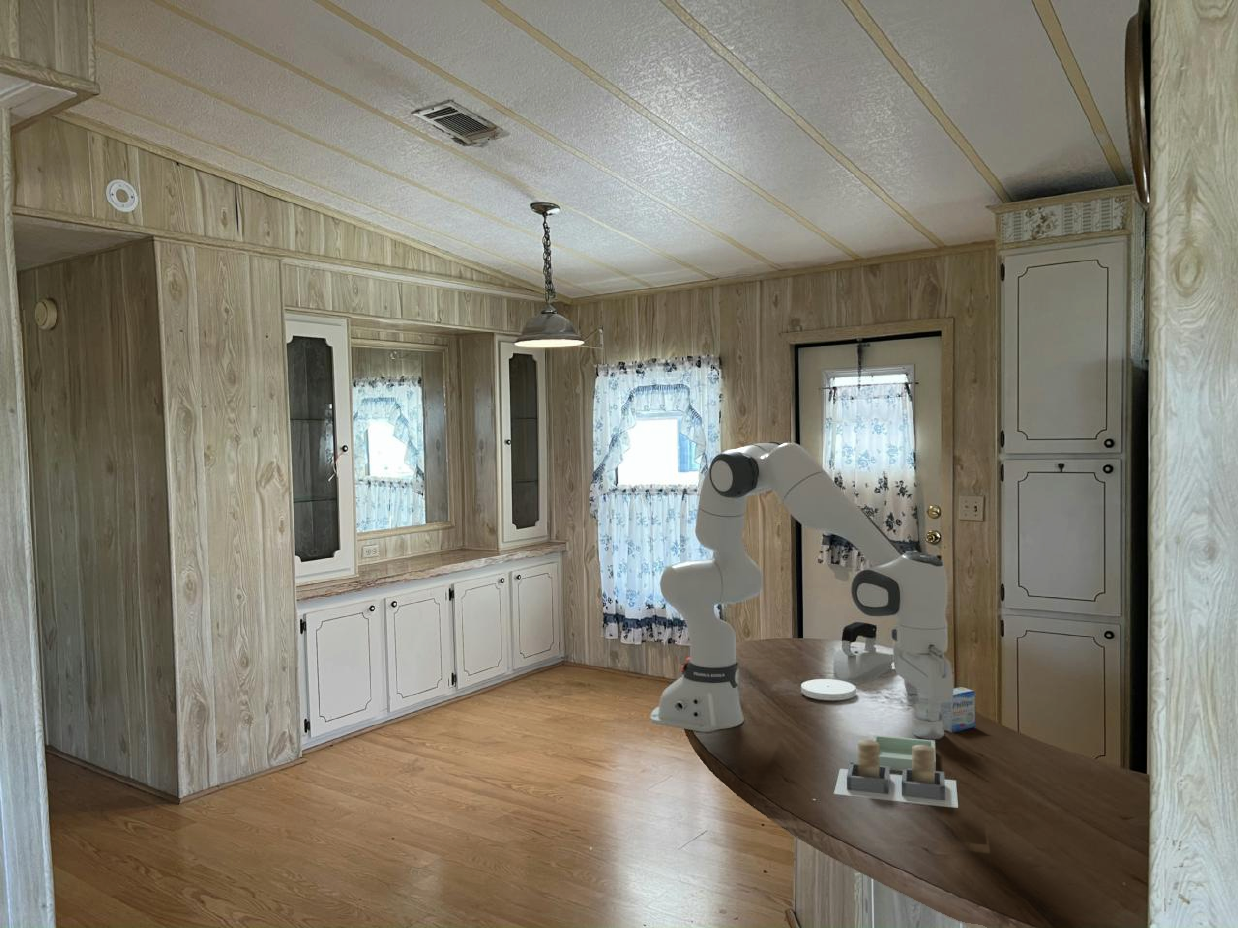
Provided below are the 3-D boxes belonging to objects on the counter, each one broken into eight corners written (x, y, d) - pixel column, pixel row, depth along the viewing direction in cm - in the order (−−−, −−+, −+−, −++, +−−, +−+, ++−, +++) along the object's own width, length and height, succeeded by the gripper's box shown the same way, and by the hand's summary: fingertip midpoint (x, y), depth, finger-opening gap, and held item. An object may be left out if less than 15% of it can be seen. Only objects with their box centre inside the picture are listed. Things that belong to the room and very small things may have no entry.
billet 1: (857, 786, 171) (857, 745, 171) (858, 778, 175) (858, 738, 175) (879, 789, 170) (878, 747, 170) (879, 781, 174) (879, 740, 174)
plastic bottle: (946, 745, 195) (946, 654, 195) (914, 743, 197) (913, 653, 196) (942, 735, 202) (941, 647, 201) (910, 733, 203) (910, 646, 202)
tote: (869, 772, 181) (869, 755, 181) (873, 750, 193) (873, 734, 193) (935, 779, 177) (935, 761, 177) (935, 756, 189) (934, 740, 189)
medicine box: (951, 733, 203) (950, 695, 203) (935, 727, 207) (935, 690, 207) (975, 727, 207) (975, 690, 206) (960, 722, 211) (959, 685, 210)
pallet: (833, 798, 168) (833, 780, 168) (840, 773, 181) (839, 756, 181) (958, 813, 161) (958, 794, 161) (955, 785, 174) (955, 767, 173)
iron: (900, 669, 257) (900, 617, 257) (860, 687, 240) (860, 632, 239) (866, 662, 265) (865, 612, 264) (824, 680, 247) (824, 627, 247)
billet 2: (909, 790, 169) (909, 749, 169) (916, 783, 172) (916, 743, 172) (930, 795, 167) (931, 753, 166) (937, 788, 170) (937, 747, 170)
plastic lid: (867, 697, 232) (867, 688, 231) (828, 707, 224) (828, 697, 224) (828, 685, 243) (828, 675, 243) (789, 694, 236) (789, 684, 236)
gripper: (962, 652, 158) (962, 729, 159) (918, 626, 178) (918, 694, 179) (927, 653, 158) (927, 730, 158) (887, 627, 178) (887, 695, 179)
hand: (922, 711), depth 169 cm, fingers open, 8 cm apart
